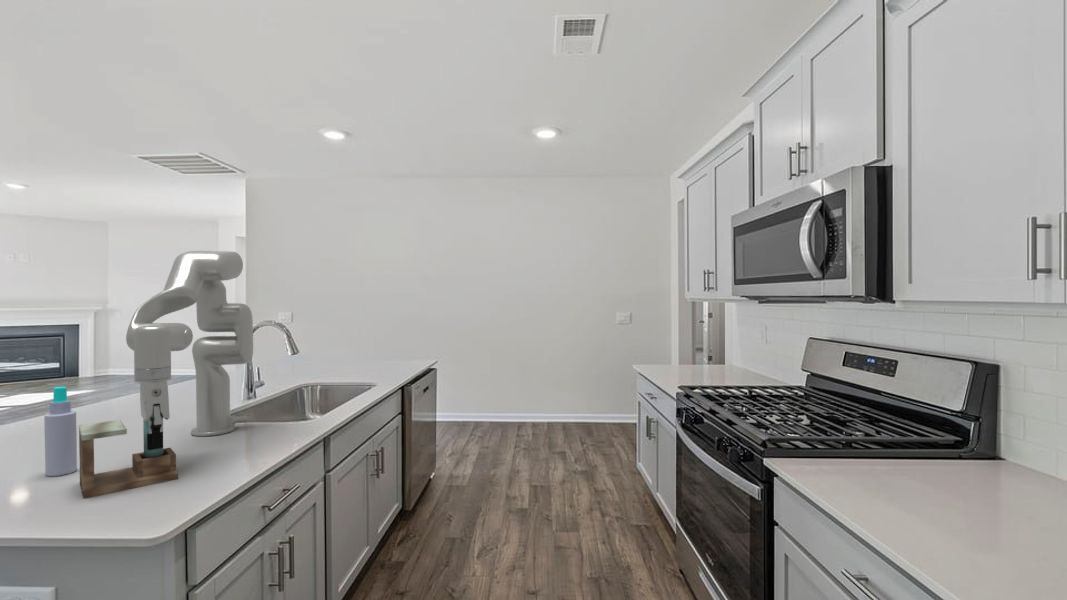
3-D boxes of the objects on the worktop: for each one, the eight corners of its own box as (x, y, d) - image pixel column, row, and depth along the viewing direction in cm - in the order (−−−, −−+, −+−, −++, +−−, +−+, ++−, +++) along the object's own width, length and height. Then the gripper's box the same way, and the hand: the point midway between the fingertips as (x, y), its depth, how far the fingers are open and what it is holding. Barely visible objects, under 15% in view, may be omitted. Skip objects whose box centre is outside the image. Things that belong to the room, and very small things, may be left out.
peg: (161, 451, 135) (161, 413, 135) (164, 455, 132) (164, 415, 132) (142, 455, 132) (142, 415, 132) (145, 458, 129) (144, 418, 129)
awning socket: (168, 465, 140) (168, 413, 140) (178, 478, 131) (177, 422, 130) (79, 482, 128) (78, 425, 127) (83, 498, 118) (82, 435, 118)
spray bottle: (51, 470, 136) (50, 386, 136) (80, 467, 139) (79, 384, 138) (40, 478, 131) (39, 390, 130) (71, 475, 133) (70, 388, 133)
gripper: (177, 376, 128) (177, 451, 129) (165, 369, 141) (165, 437, 141) (139, 380, 123) (140, 457, 124) (130, 372, 135) (130, 443, 136)
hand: (153, 446), depth 132 cm, fingers closed on peg, 4 cm apart
